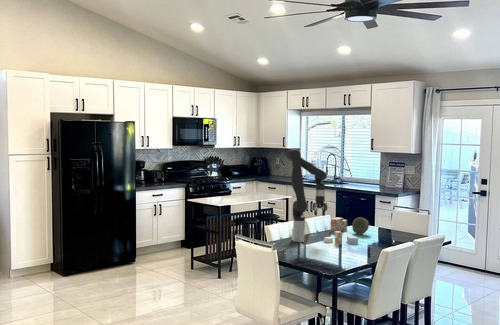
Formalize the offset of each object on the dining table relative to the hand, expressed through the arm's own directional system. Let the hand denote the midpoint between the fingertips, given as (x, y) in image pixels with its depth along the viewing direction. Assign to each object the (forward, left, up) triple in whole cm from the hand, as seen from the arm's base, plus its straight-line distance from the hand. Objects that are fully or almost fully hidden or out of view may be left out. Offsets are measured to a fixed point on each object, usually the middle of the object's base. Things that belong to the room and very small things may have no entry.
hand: (319, 215), depth 389 cm
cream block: (+7, -4, -21) cm, 23 cm away
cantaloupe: (+48, +20, -21) cm, 56 cm away
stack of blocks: (+35, +36, -21) cm, 55 cm away
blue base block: (+25, -11, -21) cm, 34 cm away
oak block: (+11, -13, -21) cm, 27 cm away
